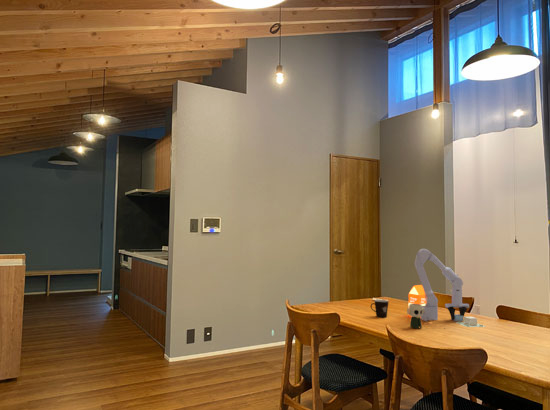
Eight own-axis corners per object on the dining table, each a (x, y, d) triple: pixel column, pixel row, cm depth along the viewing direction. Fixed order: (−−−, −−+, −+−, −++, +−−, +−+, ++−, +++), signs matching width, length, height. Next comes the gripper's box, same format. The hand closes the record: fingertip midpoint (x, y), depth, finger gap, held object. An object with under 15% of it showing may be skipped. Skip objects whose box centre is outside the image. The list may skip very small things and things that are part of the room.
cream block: (469, 325, 236) (469, 318, 237) (464, 323, 241) (463, 316, 242) (477, 325, 237) (477, 318, 237) (471, 323, 242) (471, 316, 242)
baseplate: (467, 328, 233) (466, 325, 233) (455, 324, 244) (455, 321, 244) (486, 328, 234) (486, 325, 234) (473, 323, 246) (473, 321, 246)
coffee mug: (387, 315, 266) (387, 300, 267) (389, 318, 257) (389, 302, 258) (368, 315, 267) (369, 299, 268) (370, 317, 259) (370, 301, 259)
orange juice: (408, 316, 266) (408, 284, 267) (416, 314, 271) (416, 284, 273) (419, 318, 260) (418, 286, 261) (427, 316, 265) (426, 285, 267)
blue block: (455, 322, 248) (455, 316, 248) (451, 320, 253) (451, 314, 253) (463, 322, 249) (463, 315, 249) (458, 320, 254) (458, 314, 254)
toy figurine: (411, 330, 227) (411, 306, 228) (403, 327, 234) (403, 303, 235) (428, 329, 230) (428, 305, 231) (420, 326, 237) (420, 303, 238)
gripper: (449, 297, 247) (449, 320, 246) (471, 297, 249) (472, 320, 248) (443, 296, 254) (443, 318, 253) (465, 296, 256) (465, 318, 255)
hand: (457, 319), depth 251 cm, fingers closed on blue block, 5 cm apart
